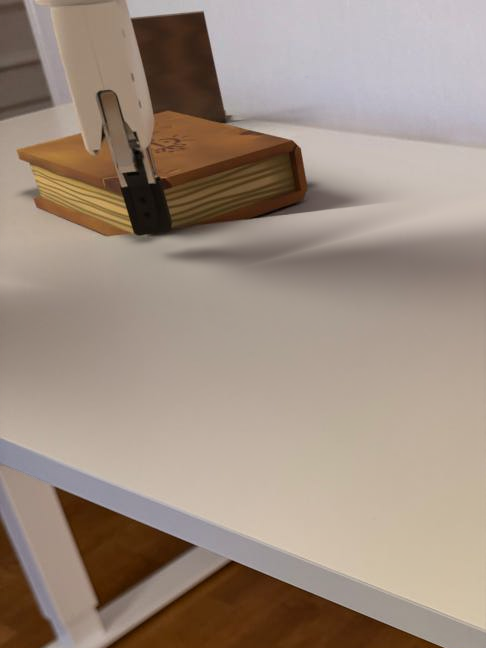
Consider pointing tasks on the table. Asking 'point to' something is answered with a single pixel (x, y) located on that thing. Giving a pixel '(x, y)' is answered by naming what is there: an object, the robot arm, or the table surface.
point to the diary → (172, 175)
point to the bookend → (179, 65)
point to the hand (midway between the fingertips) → (153, 230)
